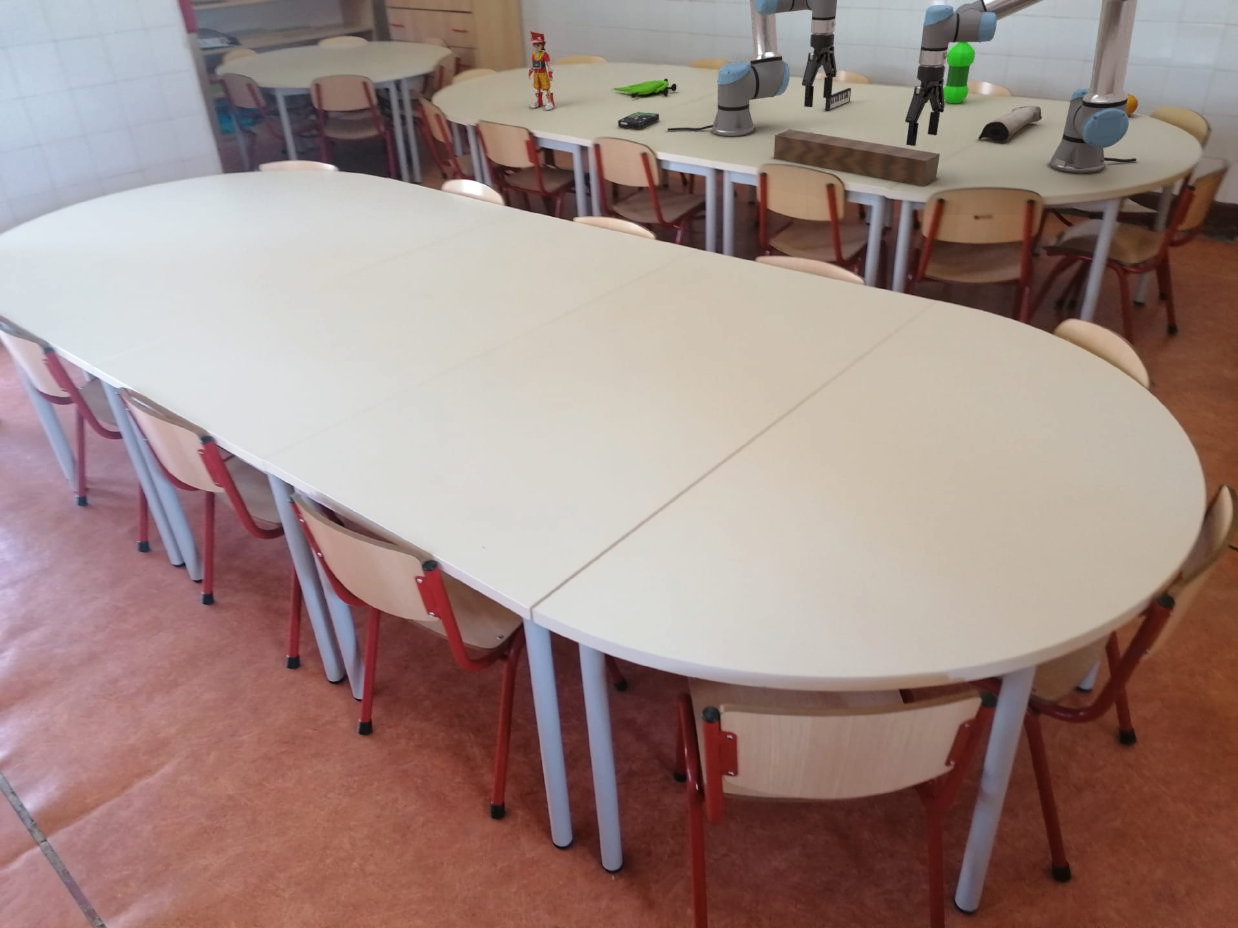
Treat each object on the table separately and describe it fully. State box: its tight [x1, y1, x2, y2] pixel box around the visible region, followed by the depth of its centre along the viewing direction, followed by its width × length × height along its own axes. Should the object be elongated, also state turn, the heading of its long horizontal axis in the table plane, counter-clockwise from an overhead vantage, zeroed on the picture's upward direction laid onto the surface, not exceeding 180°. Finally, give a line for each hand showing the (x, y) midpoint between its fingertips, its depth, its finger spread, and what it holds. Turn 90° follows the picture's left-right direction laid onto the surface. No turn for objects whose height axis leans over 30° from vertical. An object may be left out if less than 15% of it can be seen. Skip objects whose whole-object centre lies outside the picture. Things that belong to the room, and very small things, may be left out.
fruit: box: [1126, 93, 1139, 117], centre depth 325 cm, size 8×9×8 cm
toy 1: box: [527, 31, 556, 111], centre depth 374 cm, size 12×9×30 cm
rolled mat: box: [977, 105, 1043, 144], centre depth 315 cm, size 30×9×10 cm
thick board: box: [773, 128, 941, 187], centre depth 291 cm, size 55×9×8 cm, turn 47°
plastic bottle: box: [943, 42, 976, 104], centre depth 348 cm, size 10×10×25 cm
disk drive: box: [617, 111, 660, 130], centre depth 351 cm, size 10×3×15 cm
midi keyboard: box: [824, 87, 852, 111], centre depth 358 cm, size 18×1×5 cm, turn 138°
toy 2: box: [612, 78, 677, 99], centre depth 396 cm, size 28×5×30 cm
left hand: (817, 102), depth 302 cm, fingers open, 13 cm apart
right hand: (921, 140), depth 273 cm, fingers open, 13 cm apart
